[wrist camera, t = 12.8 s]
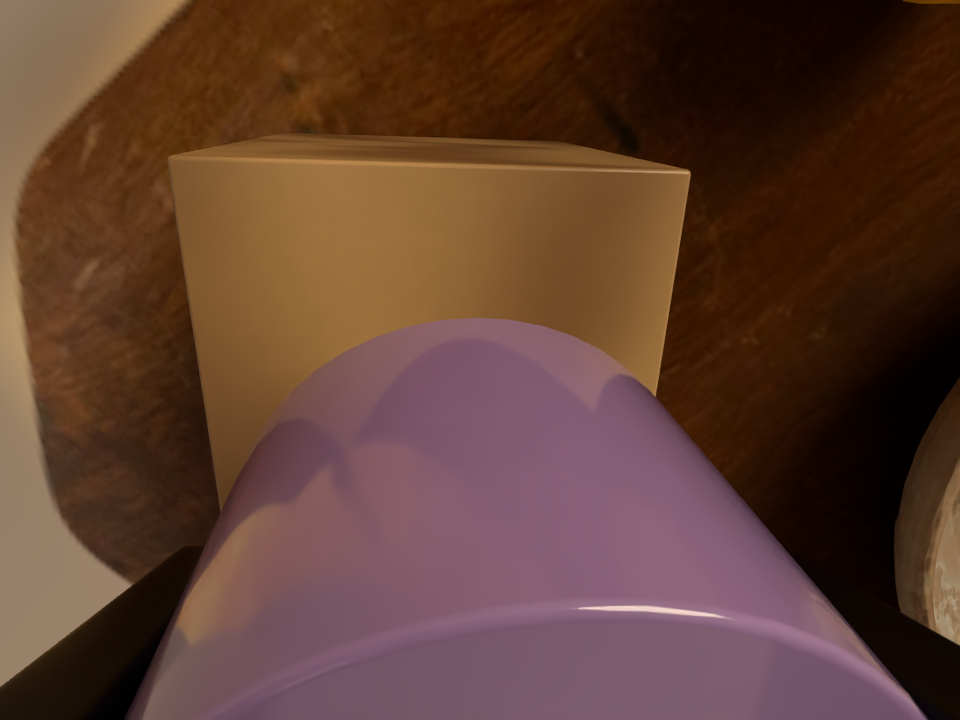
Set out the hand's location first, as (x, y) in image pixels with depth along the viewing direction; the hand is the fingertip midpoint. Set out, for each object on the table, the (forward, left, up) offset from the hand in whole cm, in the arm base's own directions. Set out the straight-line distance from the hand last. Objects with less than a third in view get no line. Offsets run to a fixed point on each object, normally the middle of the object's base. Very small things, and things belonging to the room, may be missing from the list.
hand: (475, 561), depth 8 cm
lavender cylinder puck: (0, 0, -1) cm, 1 cm away
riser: (0, -3, -13) cm, 13 cm away
